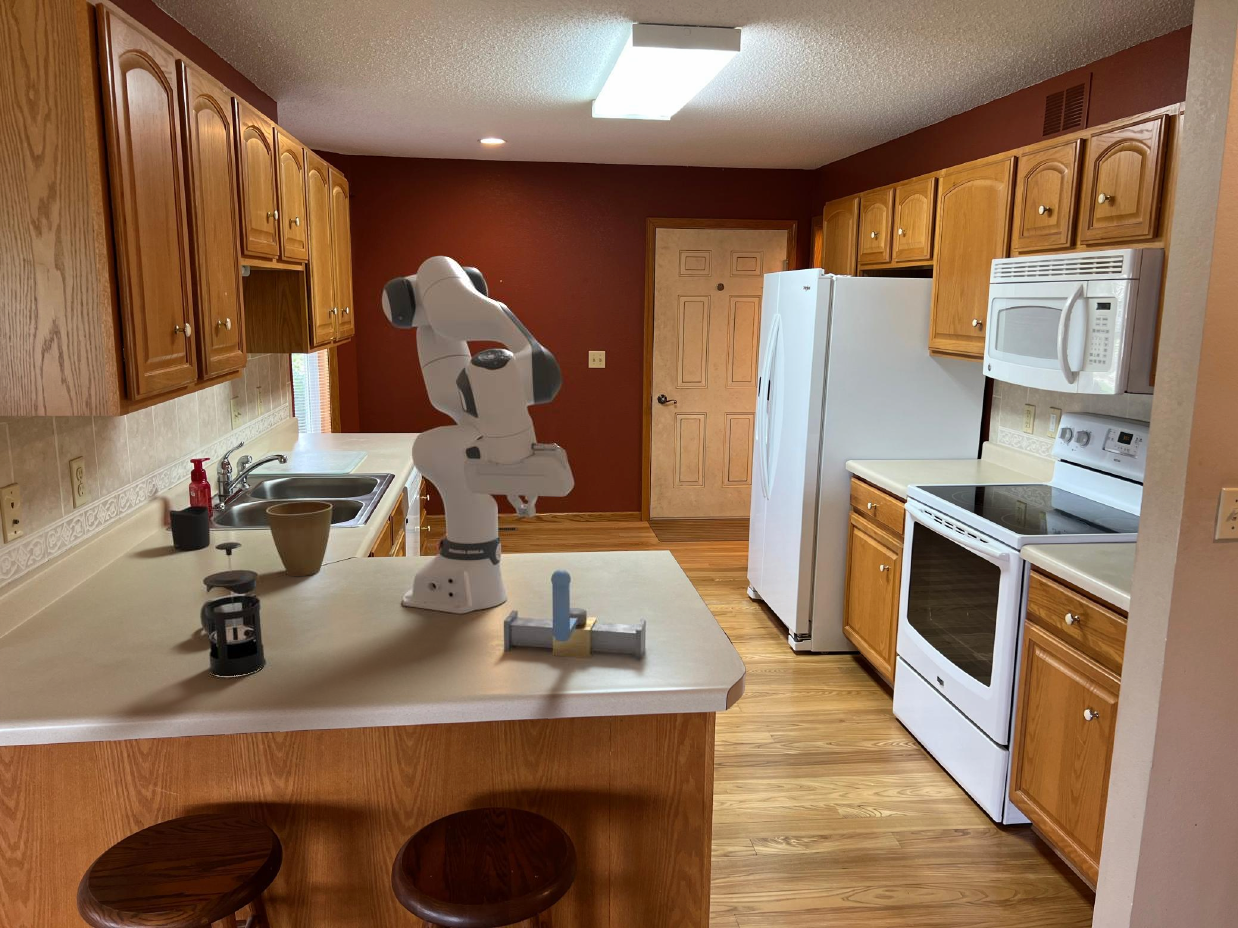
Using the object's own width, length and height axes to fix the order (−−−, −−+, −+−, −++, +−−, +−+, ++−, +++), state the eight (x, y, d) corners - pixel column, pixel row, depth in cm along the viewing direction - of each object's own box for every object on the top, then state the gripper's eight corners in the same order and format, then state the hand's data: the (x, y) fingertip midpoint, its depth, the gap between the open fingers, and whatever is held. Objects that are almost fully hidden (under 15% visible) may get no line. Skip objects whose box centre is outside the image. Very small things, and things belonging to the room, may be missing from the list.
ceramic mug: (261, 628, 182) (258, 591, 180) (227, 641, 174) (223, 603, 173) (224, 620, 186) (221, 584, 185) (190, 633, 179) (186, 596, 178)
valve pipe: (503, 651, 170) (503, 621, 169) (513, 639, 176) (512, 609, 175) (640, 661, 166) (640, 630, 165) (645, 648, 172) (645, 618, 171)
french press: (247, 681, 157) (237, 553, 153) (196, 678, 158) (185, 551, 154) (280, 654, 168) (271, 535, 164) (232, 652, 169) (222, 533, 165)
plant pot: (349, 568, 221) (345, 505, 218) (298, 585, 208) (293, 517, 205) (308, 559, 228) (304, 497, 225) (257, 574, 216) (252, 509, 213)
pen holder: (177, 542, 243) (173, 506, 241) (214, 540, 245) (211, 504, 243) (168, 552, 234) (165, 515, 232) (207, 550, 236) (204, 513, 234)
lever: (566, 616, 172) (565, 548, 170) (588, 617, 172) (588, 549, 169) (546, 645, 158) (546, 572, 155) (571, 647, 157) (571, 573, 155)
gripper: (572, 436, 154) (586, 509, 159) (471, 436, 163) (488, 505, 168) (555, 451, 149) (570, 525, 154) (452, 450, 158) (470, 520, 163)
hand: (526, 515), depth 161 cm, fingers closed
